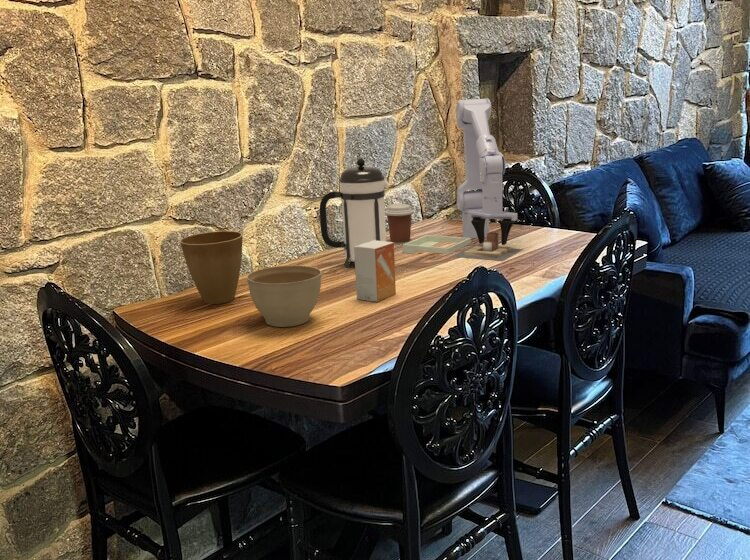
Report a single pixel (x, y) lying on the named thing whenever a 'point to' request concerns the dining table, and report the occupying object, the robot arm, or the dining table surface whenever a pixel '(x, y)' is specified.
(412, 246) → the sage tray
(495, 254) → the tan square frame
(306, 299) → the planter bowl
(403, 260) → the dining table surface
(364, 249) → the small box
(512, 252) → the stake board
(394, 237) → the coffee cup
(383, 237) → the coffee press
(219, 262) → the plant pot
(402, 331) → the dining table surface
